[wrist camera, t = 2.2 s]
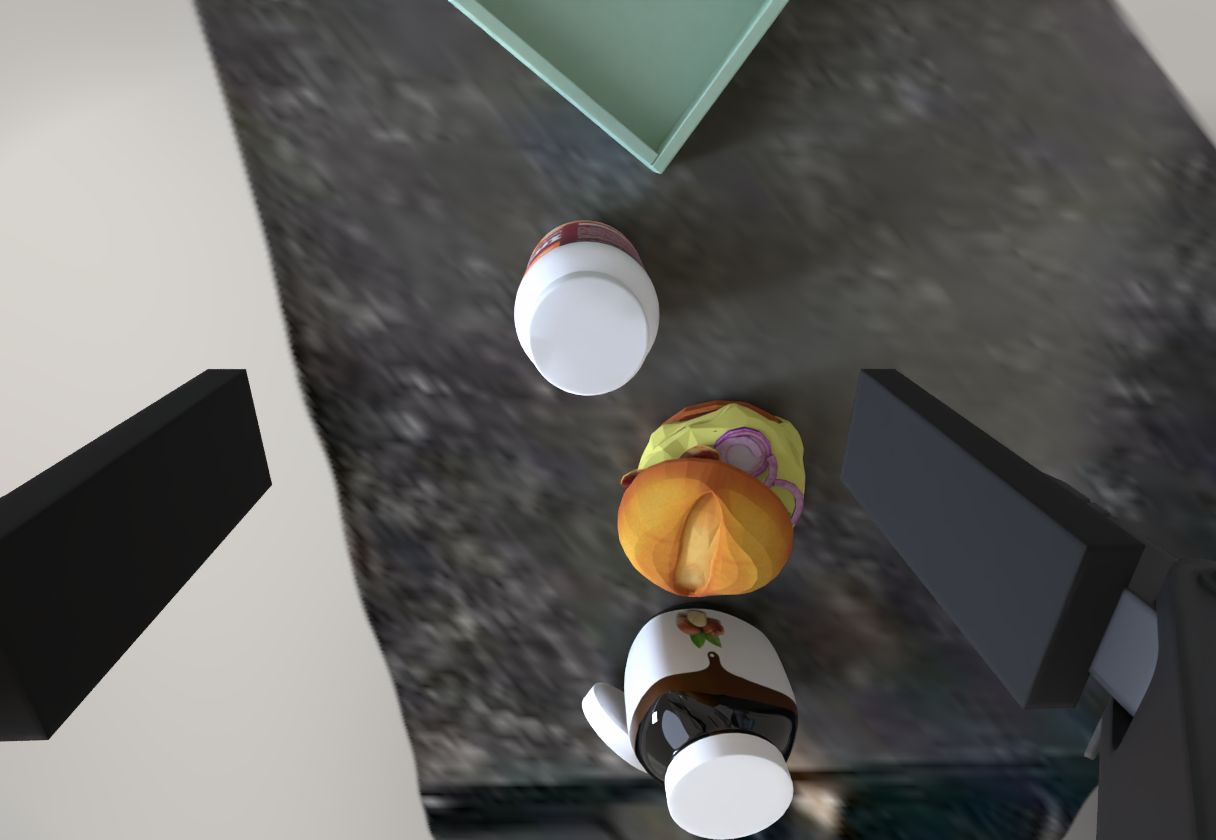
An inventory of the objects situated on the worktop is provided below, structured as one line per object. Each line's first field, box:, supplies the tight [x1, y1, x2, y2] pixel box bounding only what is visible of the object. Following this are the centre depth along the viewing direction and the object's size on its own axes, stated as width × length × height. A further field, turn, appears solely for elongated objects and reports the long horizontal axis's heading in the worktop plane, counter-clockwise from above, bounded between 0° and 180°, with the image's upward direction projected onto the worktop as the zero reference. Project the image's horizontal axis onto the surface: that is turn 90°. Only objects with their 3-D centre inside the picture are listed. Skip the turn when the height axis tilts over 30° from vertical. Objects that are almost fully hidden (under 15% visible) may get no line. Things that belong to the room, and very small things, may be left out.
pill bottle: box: [515, 220, 659, 395], centre depth 29 cm, size 6×6×11 cm
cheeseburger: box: [618, 400, 805, 597], centre depth 35 cm, size 10×11×10 cm
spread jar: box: [582, 603, 798, 839], centre depth 40 cm, size 12×11×12 cm
